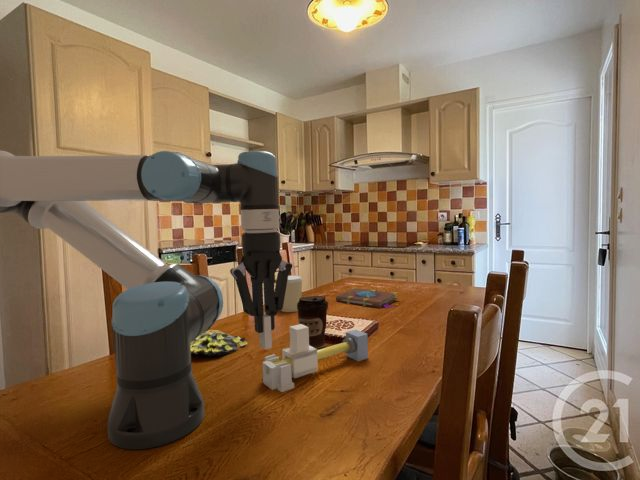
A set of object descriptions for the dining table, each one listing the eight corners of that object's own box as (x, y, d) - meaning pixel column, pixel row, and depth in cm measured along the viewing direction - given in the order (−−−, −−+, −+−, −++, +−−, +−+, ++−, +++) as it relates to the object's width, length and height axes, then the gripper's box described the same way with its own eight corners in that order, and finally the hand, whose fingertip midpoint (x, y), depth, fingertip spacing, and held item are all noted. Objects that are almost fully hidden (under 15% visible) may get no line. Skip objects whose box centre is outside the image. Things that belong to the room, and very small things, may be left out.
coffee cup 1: (307, 308, 137) (307, 276, 136) (293, 314, 129) (292, 280, 128) (288, 305, 142) (287, 274, 141) (272, 310, 134) (271, 278, 133)
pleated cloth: (156, 354, 98) (158, 329, 99) (206, 351, 111) (208, 329, 112) (203, 357, 86) (205, 329, 88) (253, 353, 99) (254, 329, 101)
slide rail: (277, 393, 72) (275, 364, 71) (259, 379, 78) (257, 352, 78) (373, 360, 87) (372, 335, 86) (351, 350, 93) (350, 327, 93)
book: (390, 314, 131) (389, 300, 130) (334, 304, 146) (334, 292, 145) (409, 302, 143) (409, 289, 143) (356, 294, 159) (356, 283, 158)
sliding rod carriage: (294, 378, 76) (292, 332, 75) (282, 370, 80) (281, 327, 79) (317, 370, 79) (316, 326, 79) (305, 363, 83) (304, 321, 82)
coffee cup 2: (325, 352, 93) (324, 302, 92) (294, 350, 94) (292, 301, 93) (331, 340, 101) (330, 294, 100) (302, 339, 103) (301, 293, 102)
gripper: (237, 233, 66) (243, 360, 67) (298, 230, 73) (302, 344, 75) (222, 232, 72) (228, 349, 74) (280, 229, 79) (284, 335, 81)
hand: (265, 346), depth 74 cm, fingers closed
